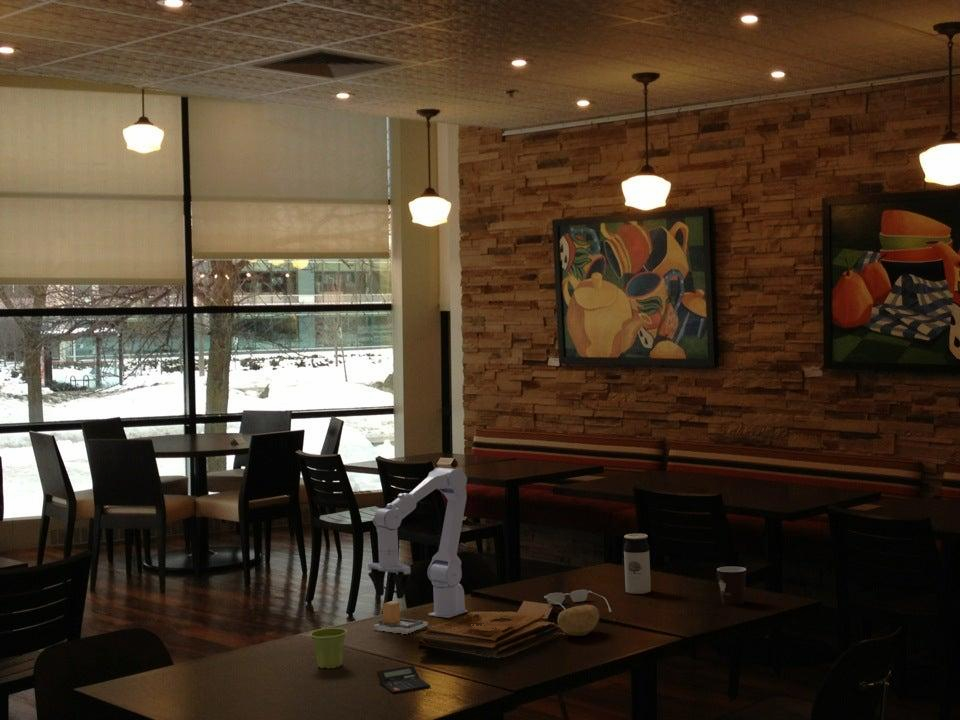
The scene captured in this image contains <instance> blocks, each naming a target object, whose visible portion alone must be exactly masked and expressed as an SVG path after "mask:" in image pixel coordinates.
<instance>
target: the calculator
mask: <svg viewBox="0 0 960 720" xmlns="http://www.w3.org/2000/svg"><path fill="white" fill-rule="evenodd" d="M376 675H377V678H378V679H379V681H380V685H381V686H382V687H383V688H384V689H386V690H387V691H388V692H390V693H391V694H393V695H394V694H395V695H396V694H401V693H408V692H414V691H421V690H427V689H430V688H431V684H429V683H428V682H426V681H425V680H424V679H422V678H421V677H420V676H419V674H418V672H417V670H416V668H415V665H410V666H409V665H408V666H407V665H406V666H402V667H397V668H390V669H384V670H378V671H377V672H376Z"/></svg>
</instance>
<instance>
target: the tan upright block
mask: <svg viewBox="0 0 960 720" xmlns="http://www.w3.org/2000/svg"><path fill="white" fill-rule="evenodd" d="M381 604H382V605H381V606H382V607H381V608H382V620H383V622H385V623H395V622H398V621H400V618H401V614H400V613H401V612H400V602H399V601H395V600H391V601H388V602H384V603H381Z"/></svg>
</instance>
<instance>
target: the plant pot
mask: <svg viewBox="0 0 960 720" xmlns="http://www.w3.org/2000/svg"><path fill="white" fill-rule="evenodd" d="M347 633H348V631H347V630H346V629H345V628H341V627H340V628H339V627H332V628H331V627H330V628H329V627H327V628H321V629H317V630H314V631H312V632H310V634H309V635H310V637H311V639H312V640H311V641H312V642H313V646H314V649H315V650H314V651H315V657H316V659H317V661H316V662H317V666H318V668H319V667H320V669H324V668H326V669H327V670H330V668H332V669H336V667H337V668H339V667H340V666H343V657H344V645H345V644H344V643H345V638H346V635H347Z"/></svg>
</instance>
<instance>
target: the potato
mask: <svg viewBox="0 0 960 720" xmlns="http://www.w3.org/2000/svg"><path fill="white" fill-rule="evenodd" d="M599 620H600V610H599V609H598V607H596V606H595V605H593V604H583V605H576V606H573V607H570V608H567V609H566V608H565V610H564V609H563V610H561V611H560V612H559V614H558V616H557V624H558V627H559V628H560V629H561V631H562V632H563V633H564V634H566V635H569V636H577V637H583V636H586V635H588V634H589V633H591V632H592V631H593V630H594V629H595V628H596V626H597V624H598V623H599Z"/></svg>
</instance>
